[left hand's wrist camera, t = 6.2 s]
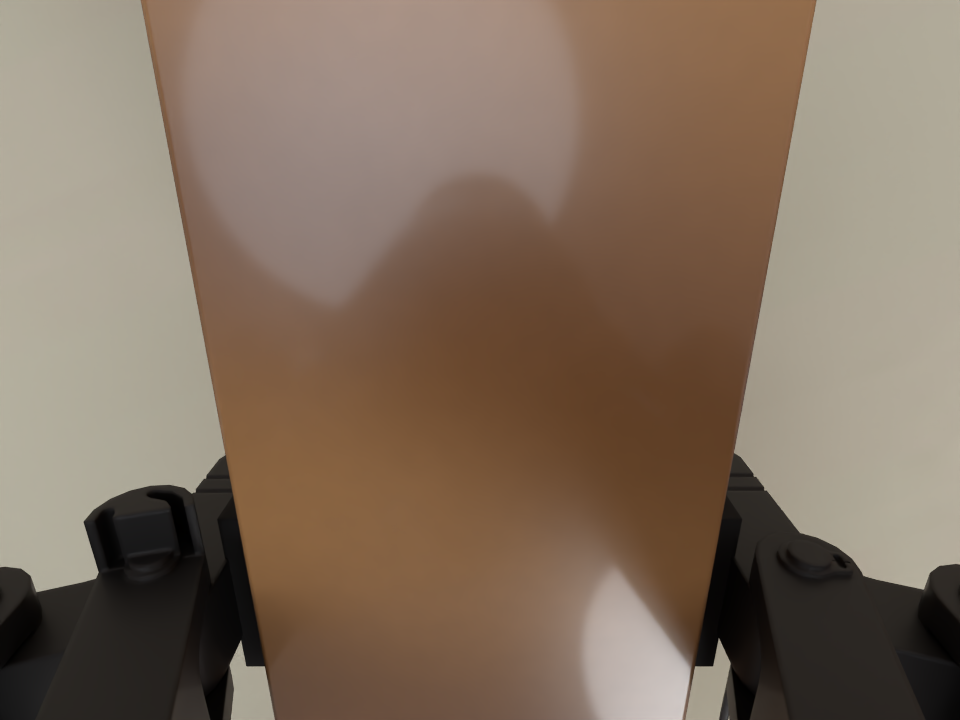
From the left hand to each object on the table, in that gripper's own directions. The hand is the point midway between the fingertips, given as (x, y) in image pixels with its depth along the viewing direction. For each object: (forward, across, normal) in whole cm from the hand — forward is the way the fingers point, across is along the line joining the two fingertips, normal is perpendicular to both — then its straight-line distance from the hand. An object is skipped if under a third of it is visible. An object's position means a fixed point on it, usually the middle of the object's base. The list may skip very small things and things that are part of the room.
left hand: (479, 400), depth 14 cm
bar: (+1, 0, -27) cm, 27 cm away
